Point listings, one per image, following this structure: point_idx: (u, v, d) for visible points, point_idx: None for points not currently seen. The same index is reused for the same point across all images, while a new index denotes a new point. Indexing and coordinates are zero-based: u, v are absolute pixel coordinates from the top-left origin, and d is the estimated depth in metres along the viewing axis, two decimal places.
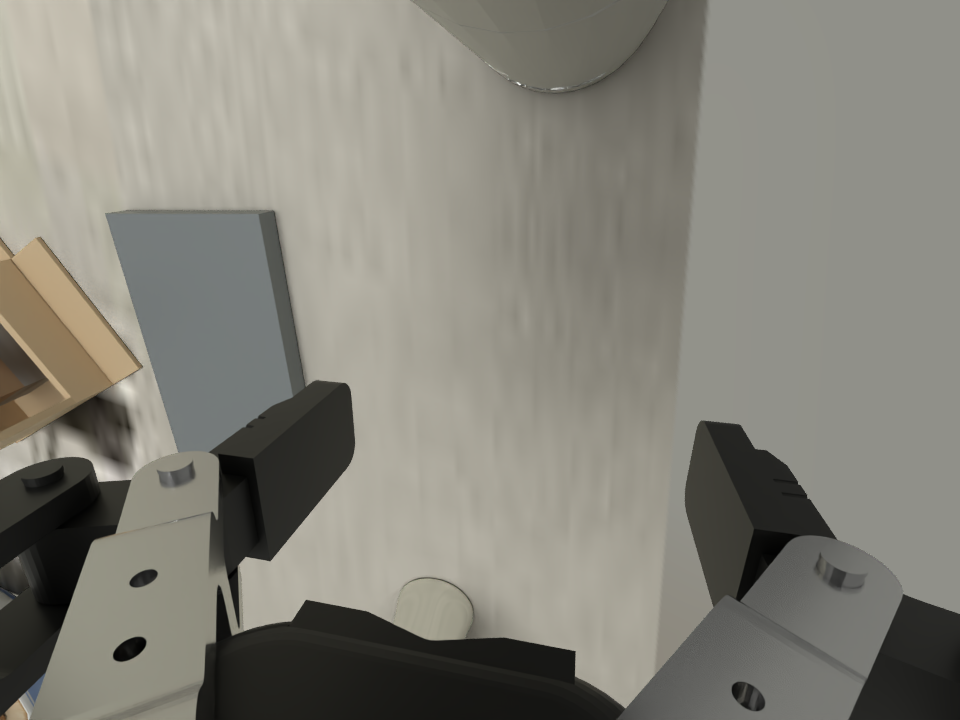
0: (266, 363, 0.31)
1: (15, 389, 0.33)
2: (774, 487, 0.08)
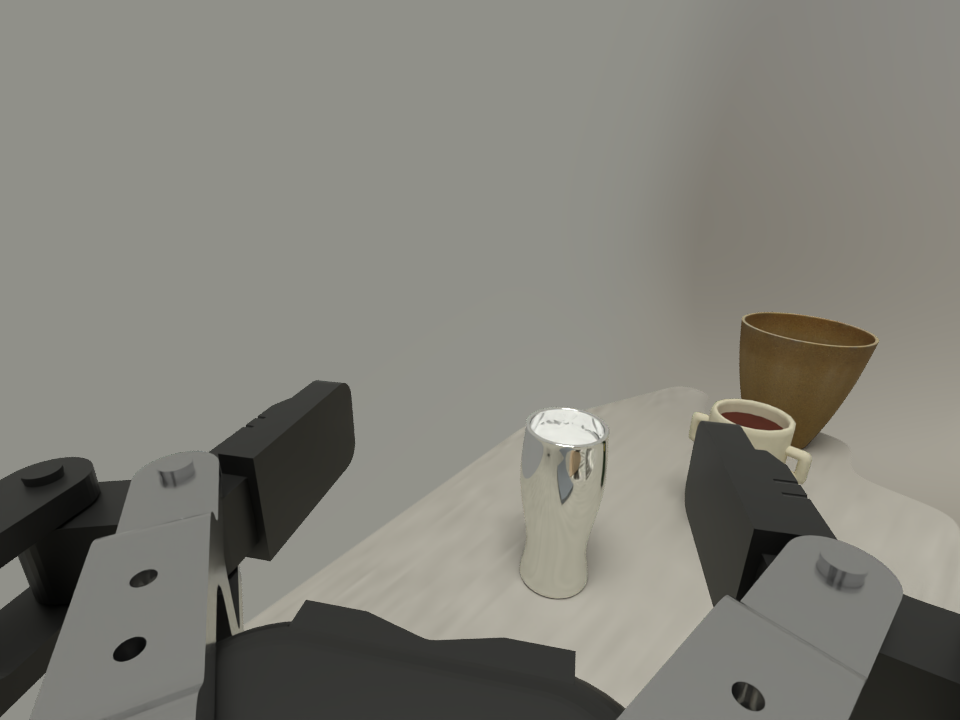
0: None
1: None
2: (774, 487, 0.08)
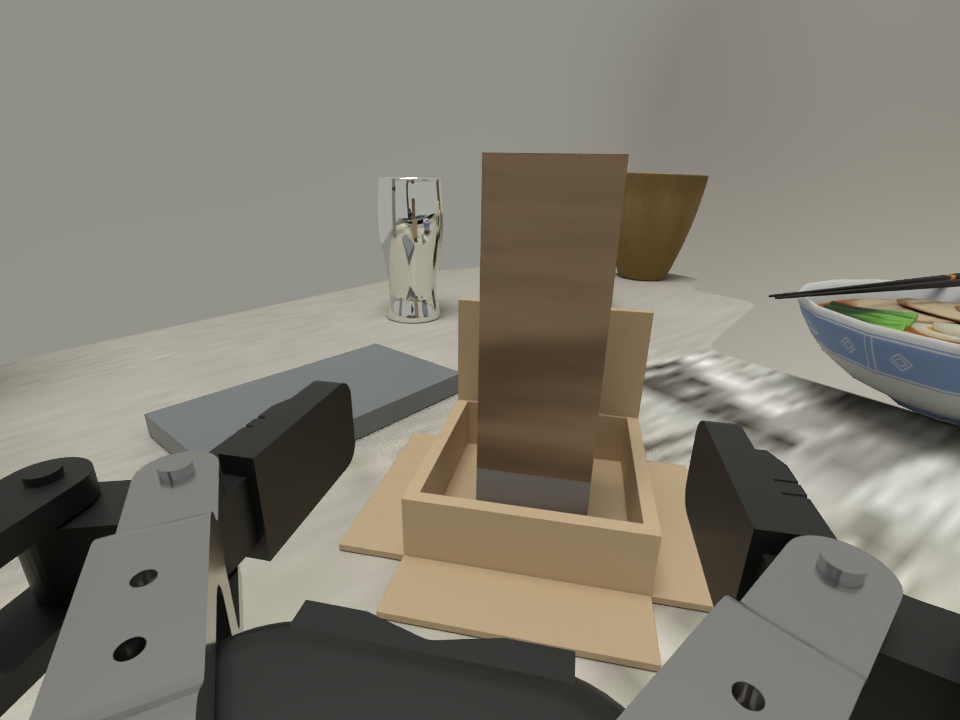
0: (291, 377, 0.36)
1: None
2: (774, 487, 0.08)
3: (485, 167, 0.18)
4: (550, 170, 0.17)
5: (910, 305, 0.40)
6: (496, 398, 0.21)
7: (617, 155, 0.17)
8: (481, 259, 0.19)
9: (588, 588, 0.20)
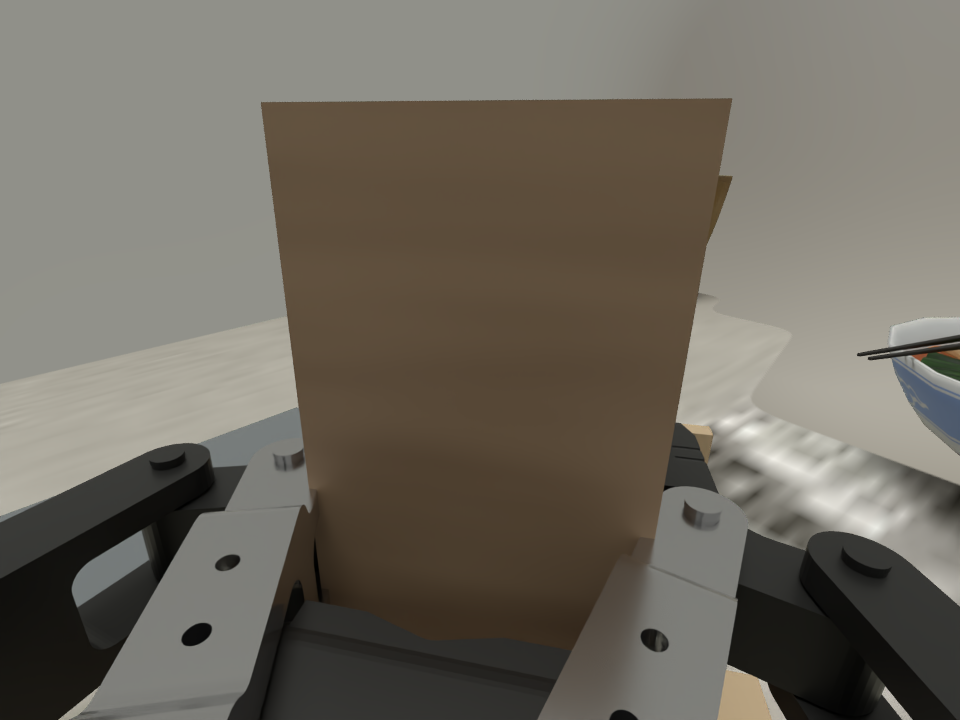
0: None
1: None
2: (670, 450, 0.09)
3: (276, 150, 0.06)
4: (469, 156, 0.05)
5: None
6: None
7: (691, 103, 0.05)
8: (304, 396, 0.07)
9: None
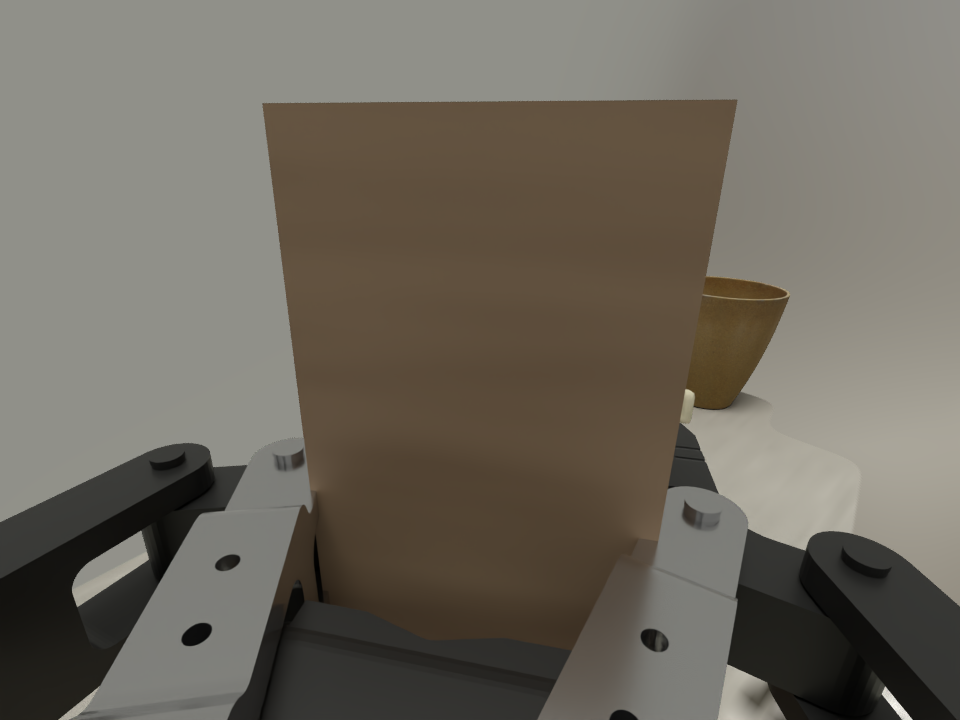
0: None
1: None
2: None
3: (278, 151, 0.06)
4: (473, 157, 0.05)
5: None
6: None
7: (696, 104, 0.05)
8: (305, 399, 0.07)
9: None
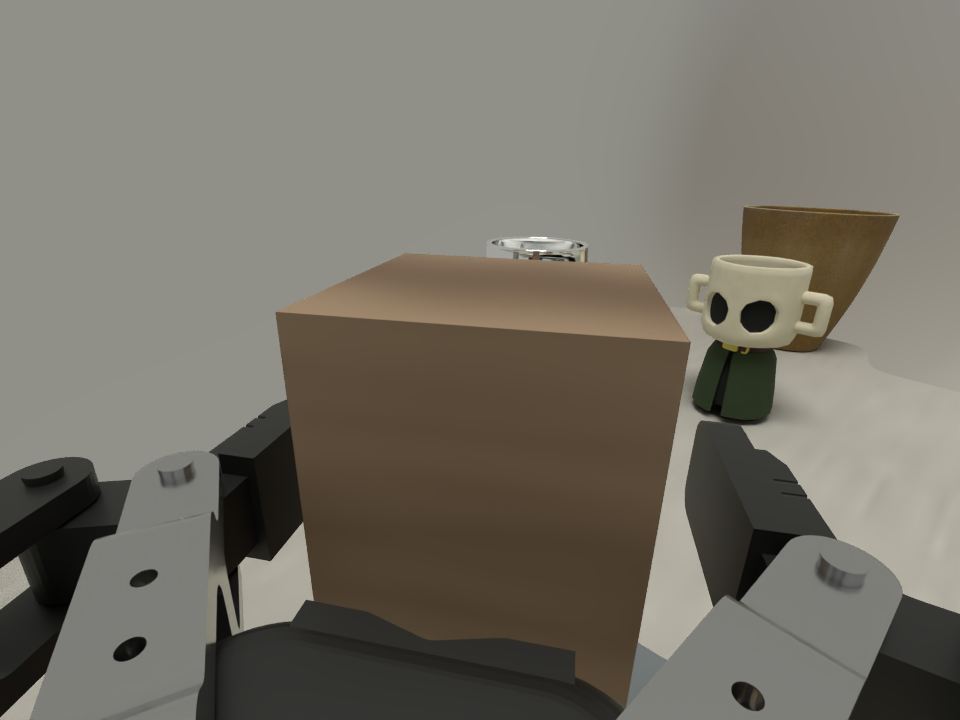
0: None
1: None
2: (773, 487, 0.08)
3: (290, 350, 0.06)
4: (463, 367, 0.06)
5: None
6: None
7: (656, 343, 0.06)
8: (312, 540, 0.08)
9: None
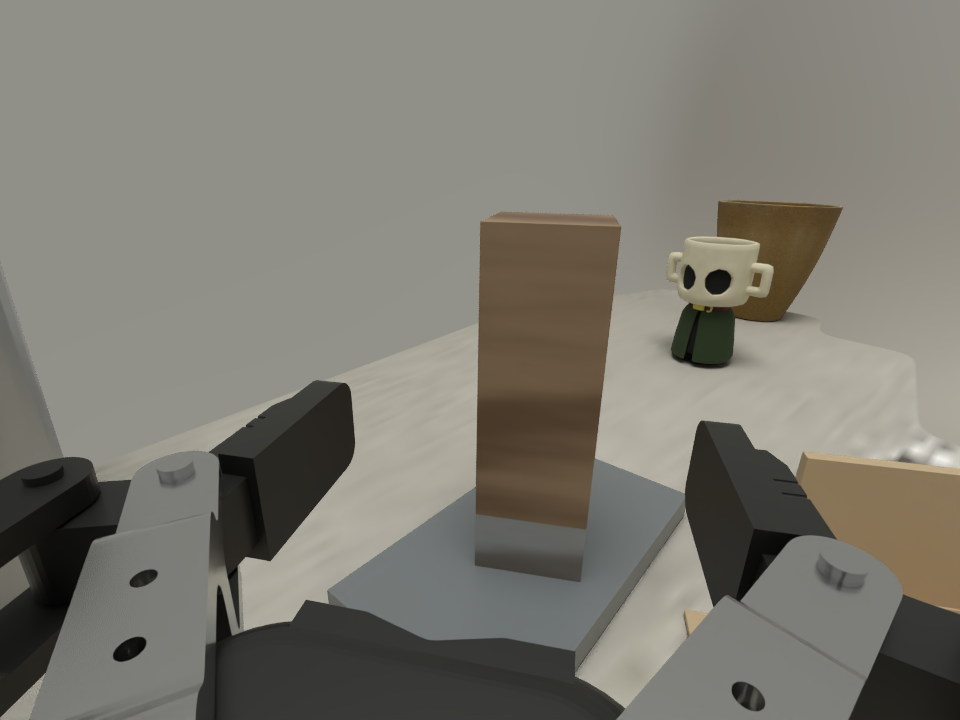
0: None
1: None
2: (774, 487, 0.08)
3: (483, 235, 0.18)
4: (546, 239, 0.18)
5: None
6: (494, 449, 0.21)
7: (610, 227, 0.17)
8: (479, 319, 0.20)
9: None
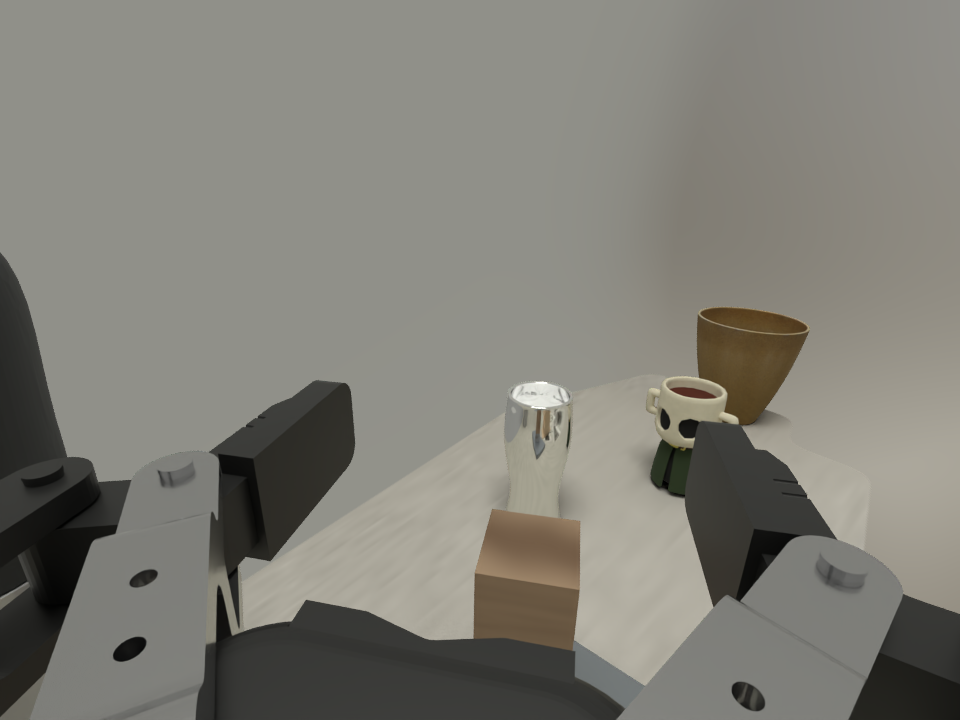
0: None
1: None
2: (774, 487, 0.08)
3: (477, 581, 0.24)
4: (524, 589, 0.24)
5: None
6: None
7: (571, 589, 0.23)
8: (474, 627, 0.26)
9: None
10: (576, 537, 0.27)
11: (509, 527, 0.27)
